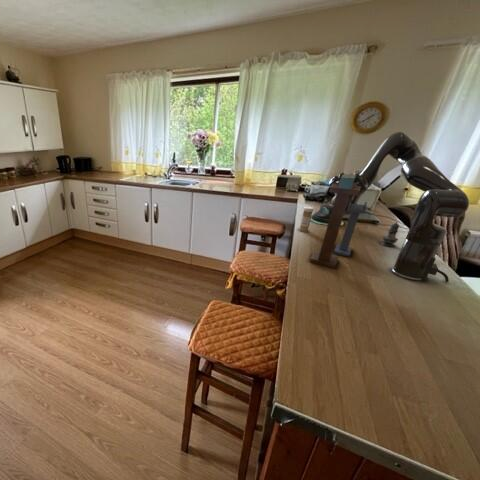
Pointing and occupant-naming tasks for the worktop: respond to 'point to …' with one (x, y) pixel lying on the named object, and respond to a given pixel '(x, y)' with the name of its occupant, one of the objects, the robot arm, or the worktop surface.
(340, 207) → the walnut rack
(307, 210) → the sprinkles bottle
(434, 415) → the worktop surface
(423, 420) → the worktop surface
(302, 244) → the worktop surface
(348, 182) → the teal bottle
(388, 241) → the dark grey figurine
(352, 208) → the blue grey stand
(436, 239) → the robot arm
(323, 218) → the dark green shoe
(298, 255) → the worktop surface
